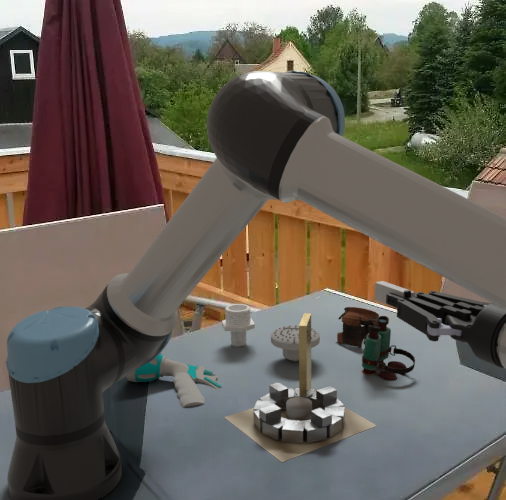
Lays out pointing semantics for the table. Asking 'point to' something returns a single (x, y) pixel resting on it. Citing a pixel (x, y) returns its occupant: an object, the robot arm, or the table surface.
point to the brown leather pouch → (356, 325)
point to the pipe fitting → (238, 323)
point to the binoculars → (382, 352)
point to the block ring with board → (323, 400)
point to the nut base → (295, 447)
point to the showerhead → (291, 341)
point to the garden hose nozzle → (177, 378)
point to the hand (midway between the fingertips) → (378, 290)
